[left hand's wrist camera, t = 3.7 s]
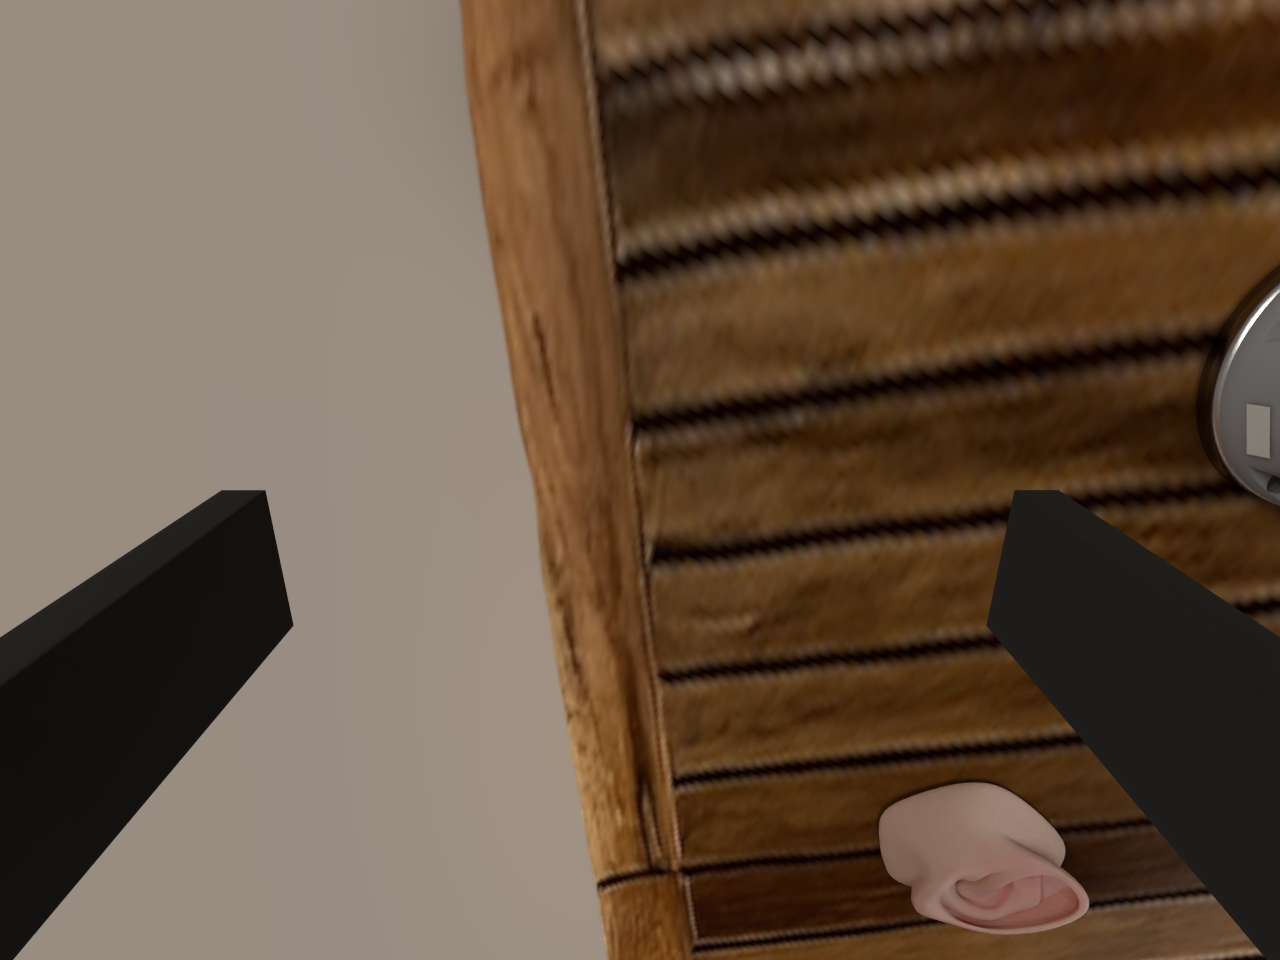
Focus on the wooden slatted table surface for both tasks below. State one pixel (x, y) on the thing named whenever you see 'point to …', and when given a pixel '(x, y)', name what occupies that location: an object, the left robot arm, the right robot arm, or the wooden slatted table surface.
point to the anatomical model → (980, 860)
